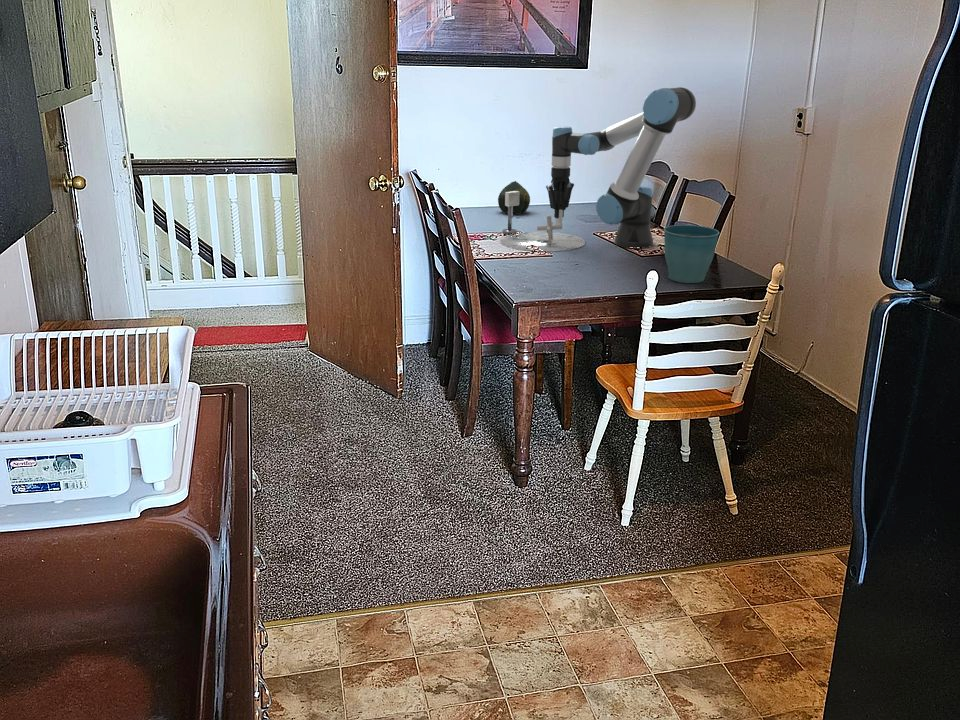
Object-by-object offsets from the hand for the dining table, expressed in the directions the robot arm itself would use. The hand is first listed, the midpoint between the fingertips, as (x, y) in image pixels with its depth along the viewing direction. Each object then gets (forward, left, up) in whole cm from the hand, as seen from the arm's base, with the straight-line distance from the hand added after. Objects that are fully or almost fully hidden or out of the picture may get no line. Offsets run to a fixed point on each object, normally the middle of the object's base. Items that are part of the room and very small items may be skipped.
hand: (558, 225), depth 348 cm
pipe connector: (0, +4, -5) cm, 7 cm away
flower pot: (-72, +3, -6) cm, 73 cm away
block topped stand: (+21, +9, -6) cm, 23 cm away
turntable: (0, +8, -6) cm, 10 cm away
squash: (+55, -19, -6) cm, 58 cm away
